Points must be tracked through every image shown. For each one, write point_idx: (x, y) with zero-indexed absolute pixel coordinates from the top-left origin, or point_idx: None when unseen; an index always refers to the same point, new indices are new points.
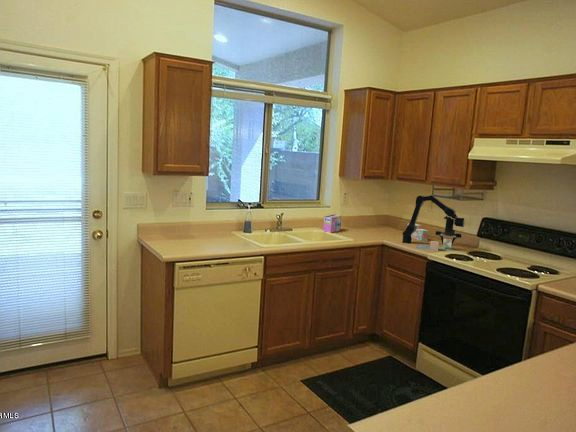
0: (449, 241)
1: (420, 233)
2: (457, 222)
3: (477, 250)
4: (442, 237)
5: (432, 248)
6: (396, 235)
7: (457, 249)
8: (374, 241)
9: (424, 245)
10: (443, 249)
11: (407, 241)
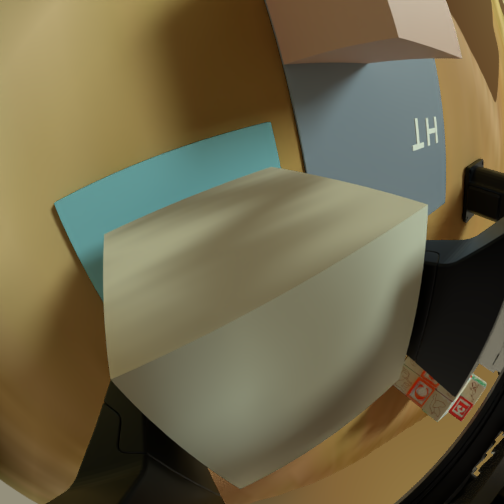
0: (192, 279)
1: None
2: None
3: (30, 485)
4: (473, 247)
5: None
6: None
7: (101, 397)
8: (500, 83)
9: (419, 196)
10: (219, 135)
11: (481, 171)
